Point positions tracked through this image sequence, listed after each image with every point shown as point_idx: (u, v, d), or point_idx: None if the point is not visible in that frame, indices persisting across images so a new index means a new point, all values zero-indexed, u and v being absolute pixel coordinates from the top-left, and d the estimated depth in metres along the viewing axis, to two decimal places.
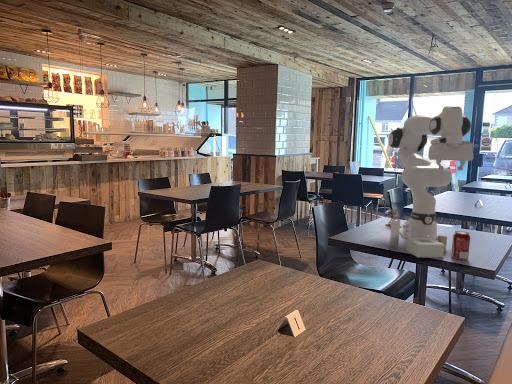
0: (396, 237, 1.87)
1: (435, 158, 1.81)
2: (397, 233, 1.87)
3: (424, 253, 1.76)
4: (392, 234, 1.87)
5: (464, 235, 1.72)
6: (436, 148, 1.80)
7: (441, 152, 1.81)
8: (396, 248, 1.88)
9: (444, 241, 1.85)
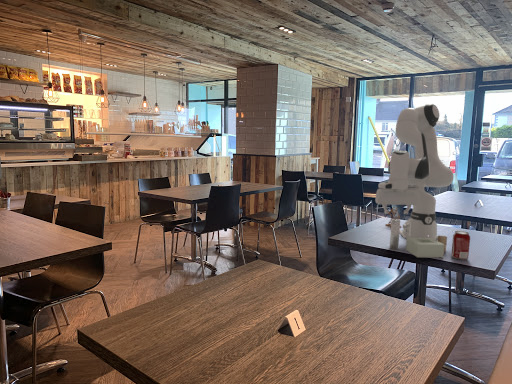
0: (396, 237, 1.87)
1: (381, 203, 1.84)
2: (397, 233, 1.87)
3: (424, 253, 1.76)
4: (392, 234, 1.87)
5: (464, 235, 1.72)
6: (382, 193, 1.83)
7: (387, 197, 1.84)
8: (396, 248, 1.88)
9: (444, 241, 1.85)
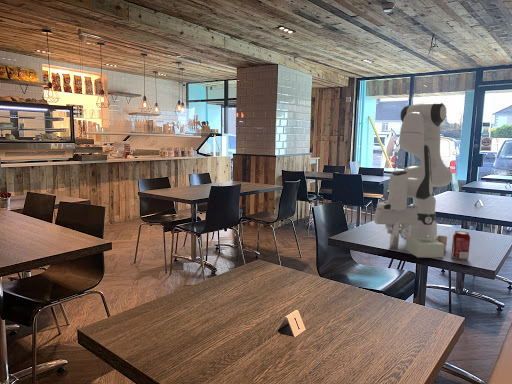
0: (396, 237, 1.87)
1: (379, 223, 1.86)
2: (397, 233, 1.87)
3: (424, 253, 1.76)
4: (392, 234, 1.87)
5: (464, 235, 1.72)
6: (381, 214, 1.85)
7: (386, 218, 1.85)
8: (396, 248, 1.88)
9: (444, 241, 1.85)
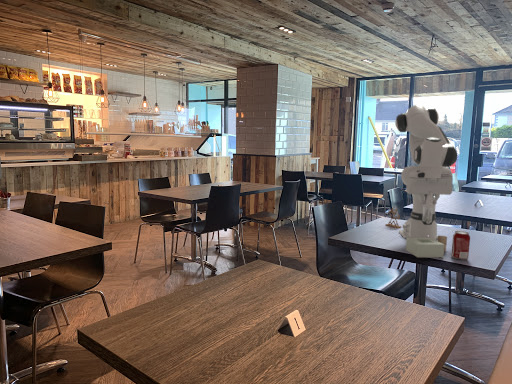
0: (430, 209, 1.77)
1: (412, 192, 1.76)
2: (431, 204, 1.77)
3: (424, 253, 1.76)
4: (425, 206, 1.78)
5: (464, 235, 1.72)
6: (414, 182, 1.75)
7: (419, 187, 1.76)
8: (430, 220, 1.78)
9: (444, 241, 1.85)
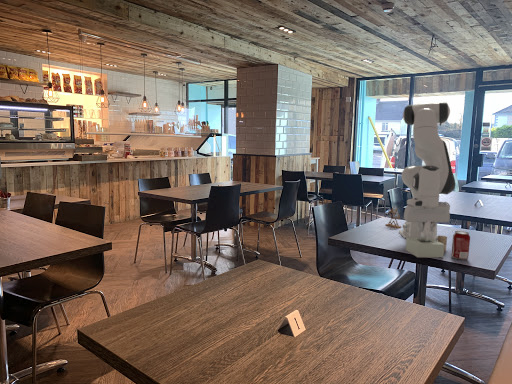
0: (427, 237, 1.79)
1: (410, 220, 1.78)
2: (428, 233, 1.79)
3: (424, 253, 1.76)
4: (423, 234, 1.80)
5: (464, 235, 1.72)
6: (411, 210, 1.77)
7: (416, 215, 1.78)
8: None
9: (444, 241, 1.85)
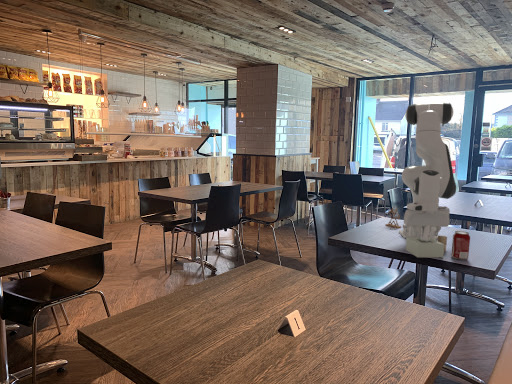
0: (427, 242, 1.80)
1: (410, 225, 1.78)
2: (428, 237, 1.79)
3: (424, 253, 1.76)
4: (423, 238, 1.80)
5: (464, 235, 1.72)
6: (411, 215, 1.77)
7: (416, 219, 1.78)
8: None
9: (444, 241, 1.85)
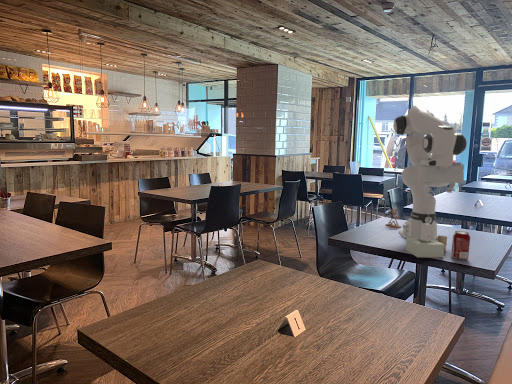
0: (427, 242, 1.80)
1: (423, 181, 1.76)
2: (428, 237, 1.79)
3: (424, 253, 1.76)
4: (423, 238, 1.80)
5: (464, 235, 1.72)
6: (425, 171, 1.75)
7: (430, 175, 1.76)
8: None
9: (444, 241, 1.85)
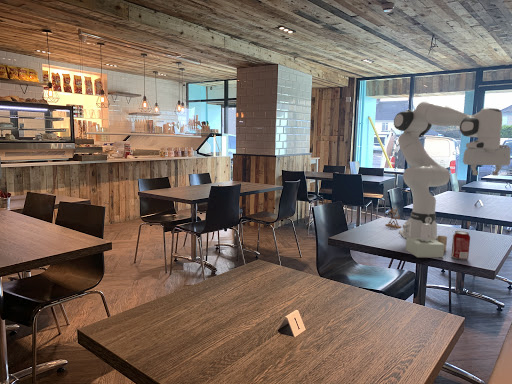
0: (427, 242, 1.80)
1: (470, 163, 1.75)
2: (428, 237, 1.79)
3: (424, 253, 1.76)
4: (423, 238, 1.80)
5: (464, 235, 1.72)
6: (472, 153, 1.74)
7: (477, 157, 1.75)
8: None
9: (444, 241, 1.85)
